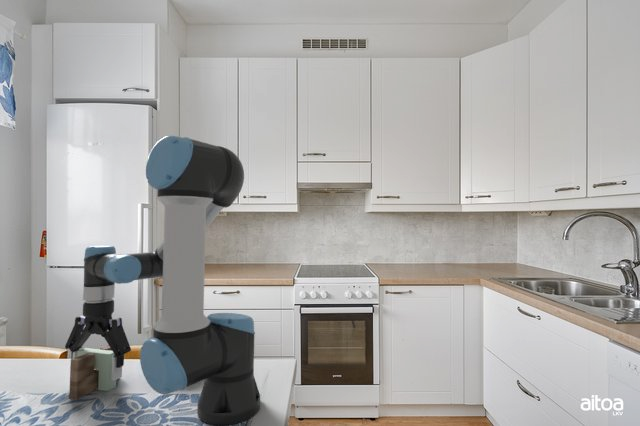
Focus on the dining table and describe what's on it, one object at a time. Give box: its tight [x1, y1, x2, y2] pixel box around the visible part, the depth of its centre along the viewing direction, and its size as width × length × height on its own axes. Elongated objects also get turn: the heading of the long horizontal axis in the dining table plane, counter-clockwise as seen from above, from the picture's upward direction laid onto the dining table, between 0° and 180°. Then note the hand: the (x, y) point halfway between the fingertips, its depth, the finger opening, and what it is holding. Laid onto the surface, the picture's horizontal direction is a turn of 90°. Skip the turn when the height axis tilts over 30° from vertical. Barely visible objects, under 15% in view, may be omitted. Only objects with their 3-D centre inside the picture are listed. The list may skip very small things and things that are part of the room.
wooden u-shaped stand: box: [68, 344, 119, 400], centre depth 98 cm, size 14×2×10 cm, turn 166°
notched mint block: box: [78, 347, 117, 392], centre depth 98 cm, size 11×2×10 cm, turn 76°
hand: (96, 376), depth 97 cm, fingers open, 13 cm apart
